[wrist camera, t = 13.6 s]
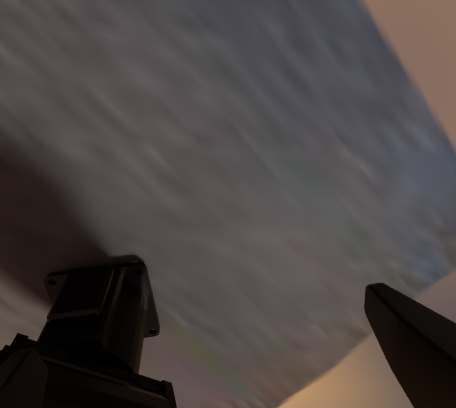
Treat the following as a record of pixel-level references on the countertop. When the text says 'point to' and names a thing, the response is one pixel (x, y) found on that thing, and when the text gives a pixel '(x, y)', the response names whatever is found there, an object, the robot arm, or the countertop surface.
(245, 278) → the countertop surface
